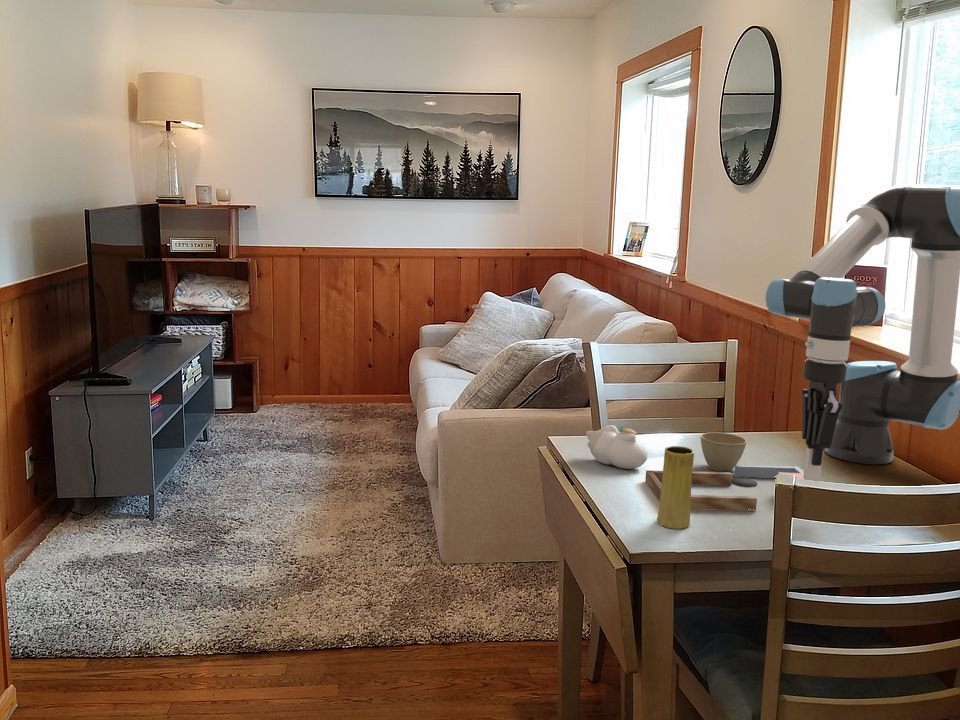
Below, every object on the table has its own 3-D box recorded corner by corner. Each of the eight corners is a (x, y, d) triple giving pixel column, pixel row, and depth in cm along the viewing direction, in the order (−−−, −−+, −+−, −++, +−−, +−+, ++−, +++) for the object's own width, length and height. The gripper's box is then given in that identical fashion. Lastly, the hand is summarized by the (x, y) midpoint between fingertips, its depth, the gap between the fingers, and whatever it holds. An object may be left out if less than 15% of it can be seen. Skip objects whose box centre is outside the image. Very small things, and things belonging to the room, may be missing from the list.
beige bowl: (745, 477, 199) (748, 446, 198) (698, 472, 201) (701, 441, 200) (741, 464, 209) (744, 434, 208) (697, 460, 211) (699, 430, 209)
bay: (796, 476, 201) (797, 466, 201) (815, 492, 191) (816, 481, 191) (734, 475, 200) (735, 465, 200) (749, 490, 190) (750, 479, 190)
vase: (695, 523, 170) (702, 450, 167) (679, 532, 165) (686, 456, 163) (667, 515, 174) (673, 443, 171) (650, 523, 169) (656, 449, 167)
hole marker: (752, 479, 198) (752, 477, 198) (760, 487, 193) (761, 485, 193) (727, 478, 198) (727, 477, 198) (735, 486, 193) (736, 485, 193)
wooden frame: (729, 483, 194) (730, 472, 194) (755, 510, 178) (757, 498, 178) (645, 481, 193) (646, 470, 193) (664, 508, 177) (665, 496, 177)
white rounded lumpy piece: (653, 430, 199) (592, 410, 207) (636, 455, 194) (575, 434, 202) (655, 459, 205) (596, 440, 213) (639, 484, 200) (580, 463, 208)
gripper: (793, 353, 178) (779, 468, 182) (821, 365, 165) (805, 489, 169) (830, 354, 178) (816, 470, 183) (861, 367, 166) (845, 491, 170)
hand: (811, 479), depth 176 cm, fingers closed
